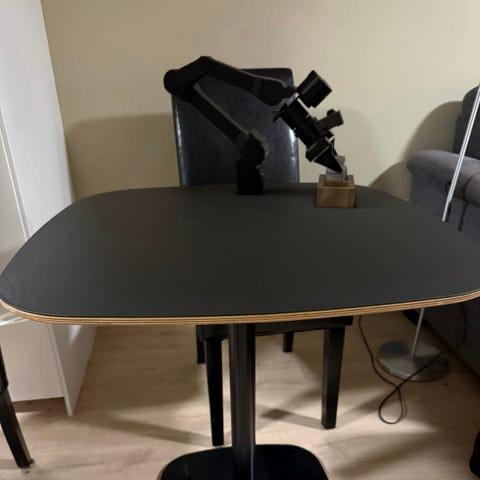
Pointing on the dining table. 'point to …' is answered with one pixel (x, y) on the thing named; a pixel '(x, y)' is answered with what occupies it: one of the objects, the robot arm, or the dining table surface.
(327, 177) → the pill bottle
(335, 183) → the holder
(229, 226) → the dining table surface
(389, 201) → the dining table surface
